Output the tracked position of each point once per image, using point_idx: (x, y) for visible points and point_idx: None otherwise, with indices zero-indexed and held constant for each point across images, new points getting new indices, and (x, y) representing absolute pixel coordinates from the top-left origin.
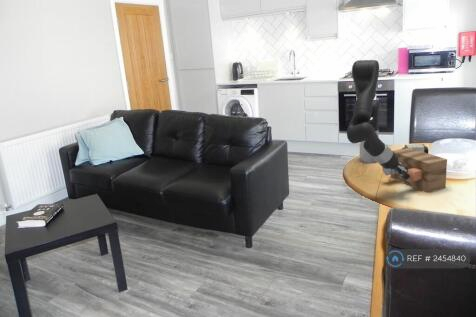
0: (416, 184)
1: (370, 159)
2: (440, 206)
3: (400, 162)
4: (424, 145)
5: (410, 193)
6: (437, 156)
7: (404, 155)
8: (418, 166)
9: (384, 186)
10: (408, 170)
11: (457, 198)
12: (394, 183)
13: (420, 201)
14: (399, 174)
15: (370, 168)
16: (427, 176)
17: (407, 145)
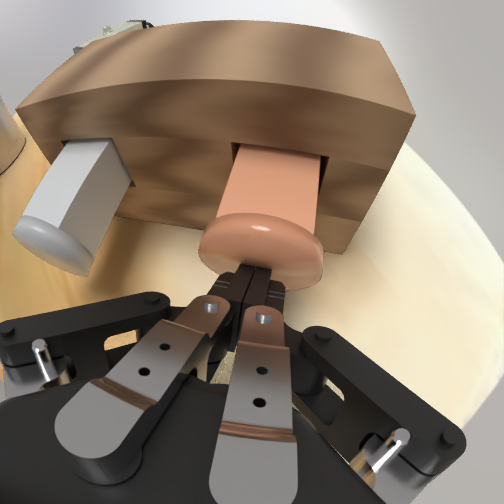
0: None
1: (2, 158)
2: (473, 346)
3: (95, 139)
4: (137, 20)
5: None
6: (306, 25)
7: (103, 85)
8: (281, 135)
9: (115, 338)
10: (254, 241)
11: (446, 227)
12: (133, 263)
13: (401, 379)
14: (221, 362)
15: (11, 197)
16: (371, 196)
17: (82, 45)
